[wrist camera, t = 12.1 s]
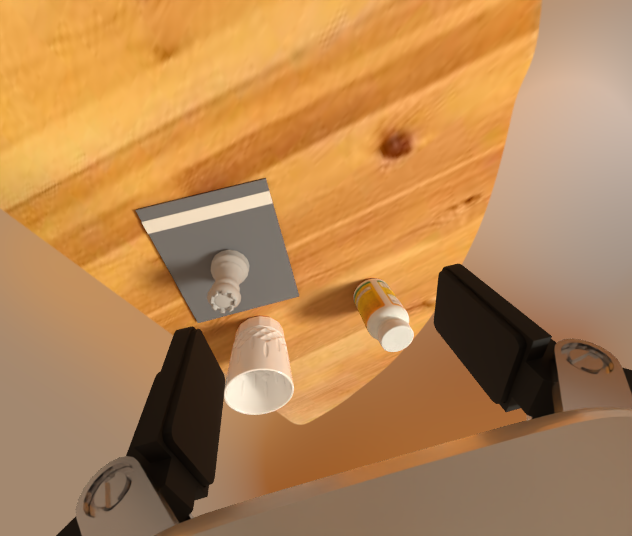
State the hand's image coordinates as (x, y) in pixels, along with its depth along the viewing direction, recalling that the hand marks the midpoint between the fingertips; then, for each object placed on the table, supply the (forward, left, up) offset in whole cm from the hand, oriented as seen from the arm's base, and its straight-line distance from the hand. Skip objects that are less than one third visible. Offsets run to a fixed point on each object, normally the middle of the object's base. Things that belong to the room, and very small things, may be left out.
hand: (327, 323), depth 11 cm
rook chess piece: (+7, -9, -23) cm, 26 cm away
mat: (+7, -9, -23) cm, 26 cm away
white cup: (+20, -9, -24) cm, 32 cm away
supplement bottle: (+18, +8, -24) cm, 31 cm away
